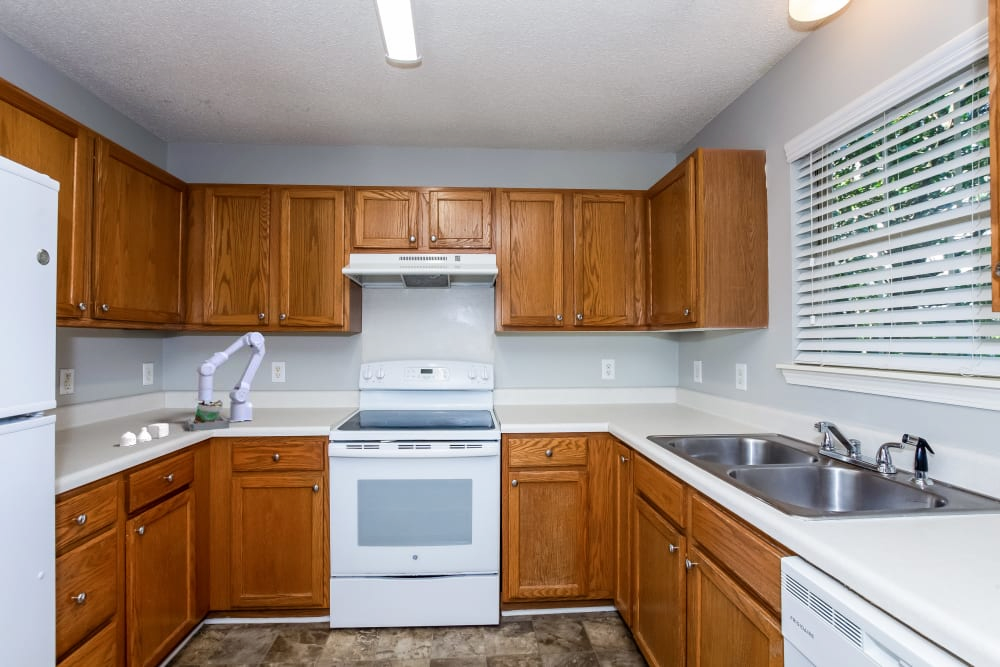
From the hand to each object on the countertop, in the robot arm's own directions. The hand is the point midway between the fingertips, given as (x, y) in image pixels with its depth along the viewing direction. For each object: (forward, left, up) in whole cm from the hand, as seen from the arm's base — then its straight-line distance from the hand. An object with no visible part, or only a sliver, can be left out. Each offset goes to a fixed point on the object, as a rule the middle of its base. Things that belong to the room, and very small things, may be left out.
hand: (205, 417), depth 224 cm
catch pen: (0, +7, -3) cm, 8 cm away
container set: (+23, +28, -4) cm, 36 cm away
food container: (-1, +3, -3) cm, 4 cm away
